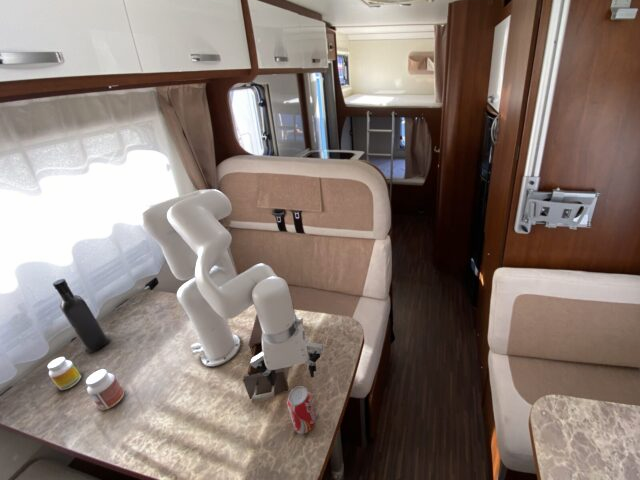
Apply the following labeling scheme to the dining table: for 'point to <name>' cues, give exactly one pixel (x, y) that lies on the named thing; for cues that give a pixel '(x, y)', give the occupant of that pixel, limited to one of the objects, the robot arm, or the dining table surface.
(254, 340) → the cabinet
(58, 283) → the wine bottle
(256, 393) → the drawer
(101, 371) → the pill bottle
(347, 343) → the dining table surface
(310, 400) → the beverage can
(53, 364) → the supplement bottle
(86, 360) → the dining table surface
